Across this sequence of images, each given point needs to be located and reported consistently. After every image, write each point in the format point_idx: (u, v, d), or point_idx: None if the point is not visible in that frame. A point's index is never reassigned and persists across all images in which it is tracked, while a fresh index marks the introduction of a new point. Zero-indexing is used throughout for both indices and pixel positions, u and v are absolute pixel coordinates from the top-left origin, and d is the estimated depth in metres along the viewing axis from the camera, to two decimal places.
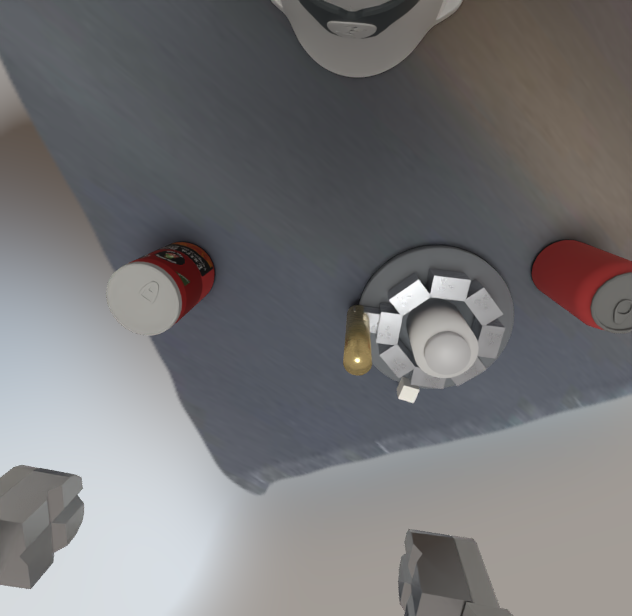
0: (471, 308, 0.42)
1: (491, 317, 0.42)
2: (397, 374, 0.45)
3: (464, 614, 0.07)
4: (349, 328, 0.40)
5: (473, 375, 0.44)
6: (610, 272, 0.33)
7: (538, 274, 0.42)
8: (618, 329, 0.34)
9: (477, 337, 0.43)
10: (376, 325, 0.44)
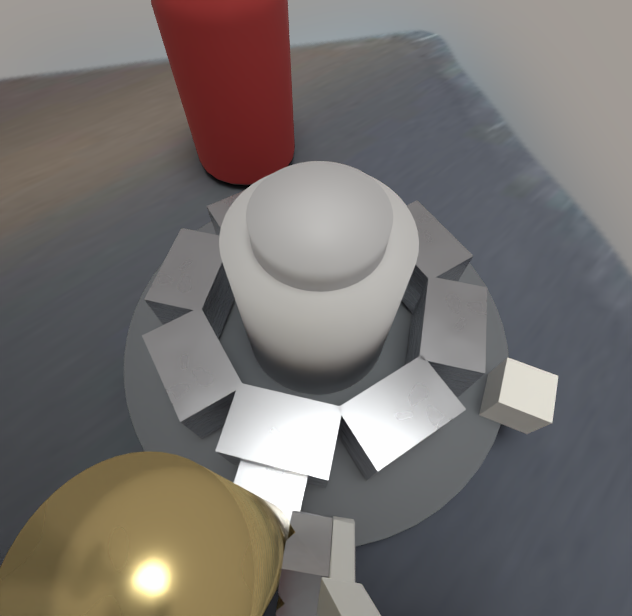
0: None
1: None
2: (451, 412, 0.13)
3: (321, 589, 0.07)
4: None
5: (437, 223, 0.18)
6: None
7: (235, 161, 0.24)
8: None
9: None
10: (277, 475, 0.13)
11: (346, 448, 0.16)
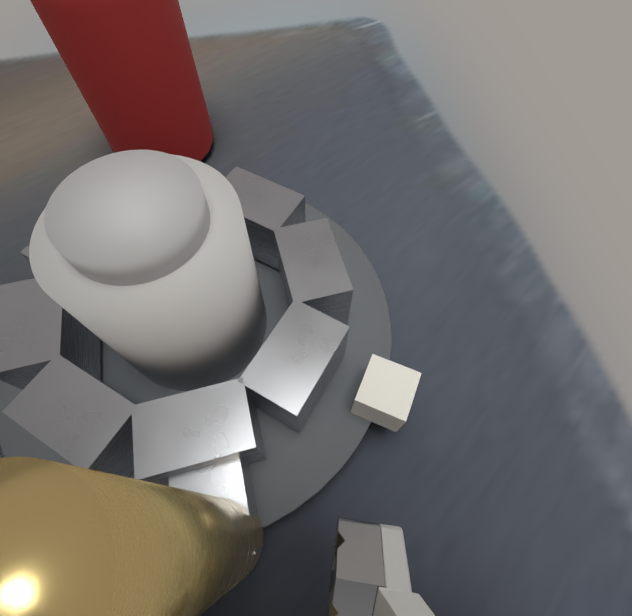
0: None
1: None
2: (338, 335, 0.14)
3: (377, 599, 0.07)
4: None
5: (262, 179, 0.18)
6: None
7: None
8: None
9: None
10: (210, 470, 0.13)
11: (270, 415, 0.16)
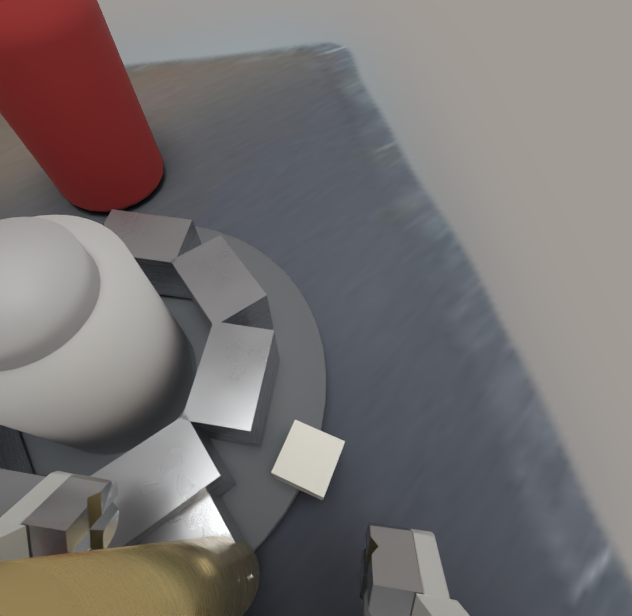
0: None
1: None
2: (266, 341, 0.15)
3: (415, 605, 0.07)
4: None
5: (144, 215, 0.18)
6: None
7: (81, 189, 0.22)
8: None
9: None
10: (182, 516, 0.13)
11: (227, 440, 0.16)
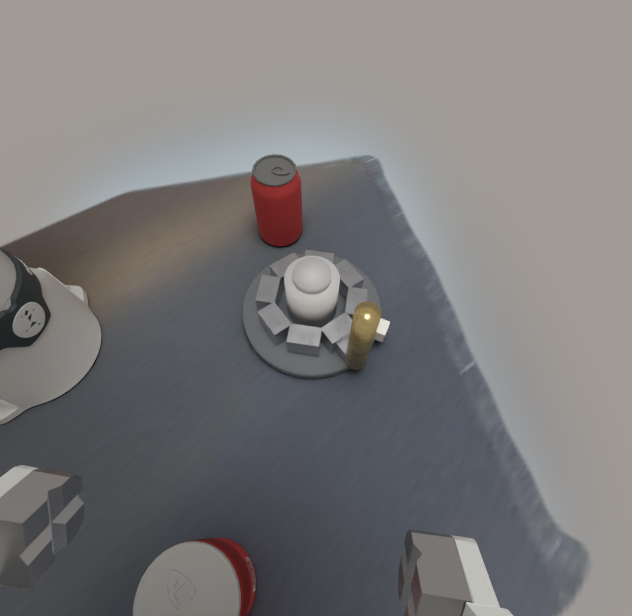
0: (275, 294, 0.48)
1: (269, 278, 0.49)
2: (365, 292, 0.48)
3: (464, 614, 0.07)
4: (360, 348, 0.41)
5: (317, 252, 0.51)
6: (253, 181, 0.49)
7: (277, 238, 0.56)
8: (293, 171, 0.49)
9: None
10: (347, 338, 0.46)
11: None
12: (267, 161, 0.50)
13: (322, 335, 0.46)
